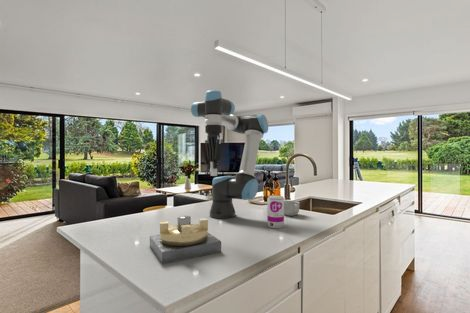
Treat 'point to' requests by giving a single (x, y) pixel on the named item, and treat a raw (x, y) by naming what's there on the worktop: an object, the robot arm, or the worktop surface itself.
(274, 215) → the supplement can
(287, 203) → the teacup
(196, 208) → the worktop surface
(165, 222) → the ring nut
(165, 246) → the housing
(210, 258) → the worktop surface
